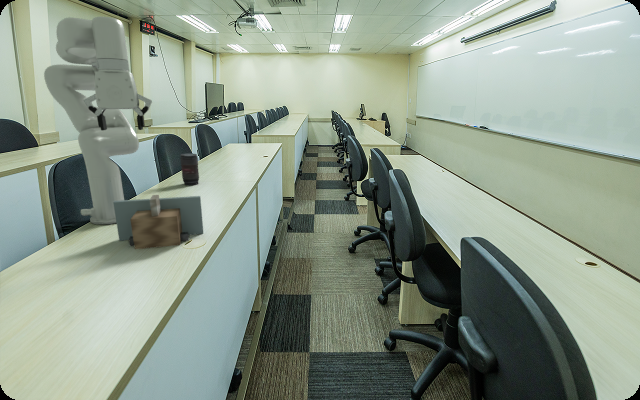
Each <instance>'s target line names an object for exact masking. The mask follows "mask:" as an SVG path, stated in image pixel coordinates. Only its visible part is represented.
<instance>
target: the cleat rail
mask: <svg viewBox="0 0 640 400" xmlns="http://www.w3.org/2000/svg"><path fill="white" fill-rule="evenodd" d="M180 240H181V243H182V242H189V240H190V235H189V233H188V232H181V233H180ZM128 243H129V247H135V246H134V241H133V236H131V237H130V238H129V240H128Z"/></svg>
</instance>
